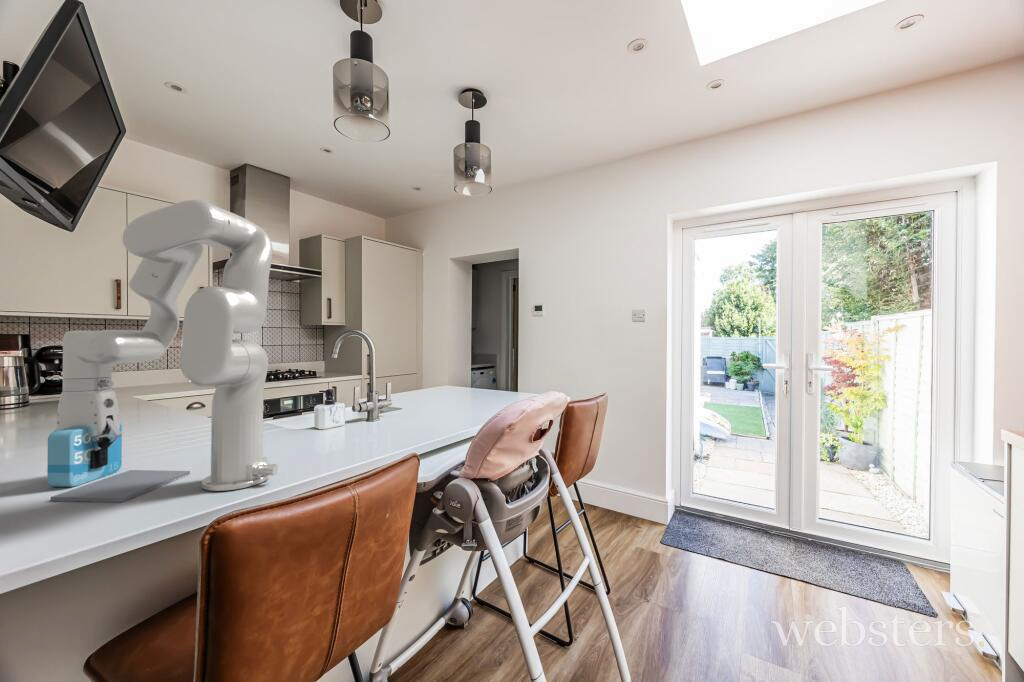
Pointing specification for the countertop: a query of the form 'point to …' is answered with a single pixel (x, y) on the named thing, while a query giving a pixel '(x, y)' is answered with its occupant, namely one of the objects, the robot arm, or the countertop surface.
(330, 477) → the countertop surface
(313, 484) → the countertop surface
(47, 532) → the countertop surface
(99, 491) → the grey mat
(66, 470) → the data package
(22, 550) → the countertop surface
